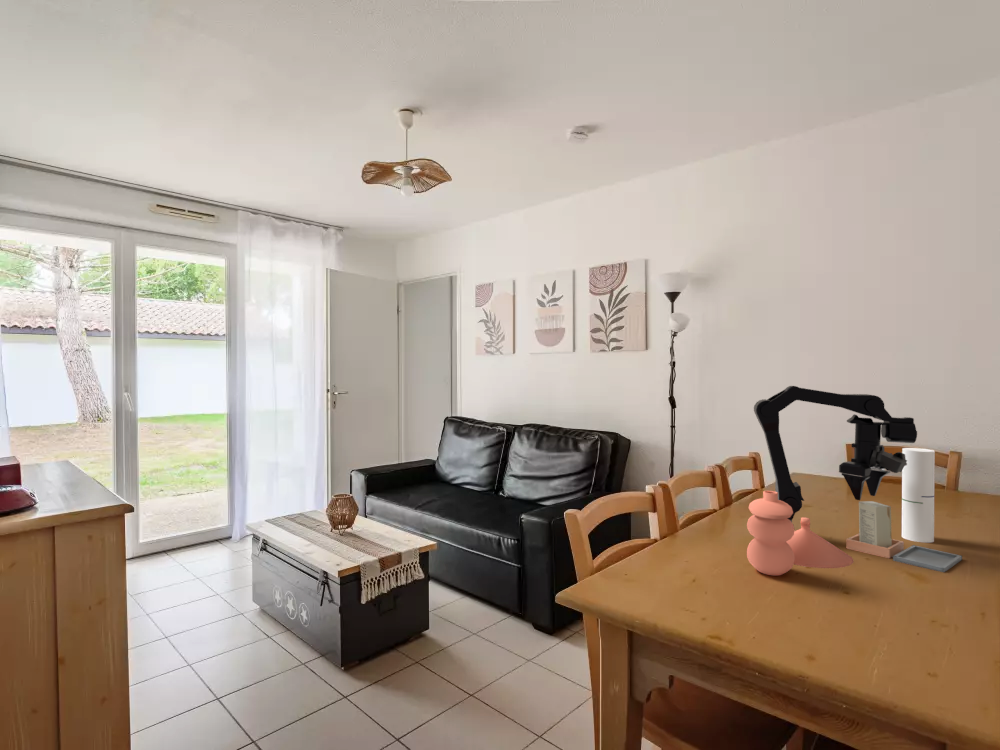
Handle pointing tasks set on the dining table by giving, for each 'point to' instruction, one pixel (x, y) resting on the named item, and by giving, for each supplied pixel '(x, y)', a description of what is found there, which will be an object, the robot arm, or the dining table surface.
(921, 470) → the cylindrical container
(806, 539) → the ceramic vessels
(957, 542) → the dining table surface
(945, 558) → the tray
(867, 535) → the skincare box
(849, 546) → the holder
